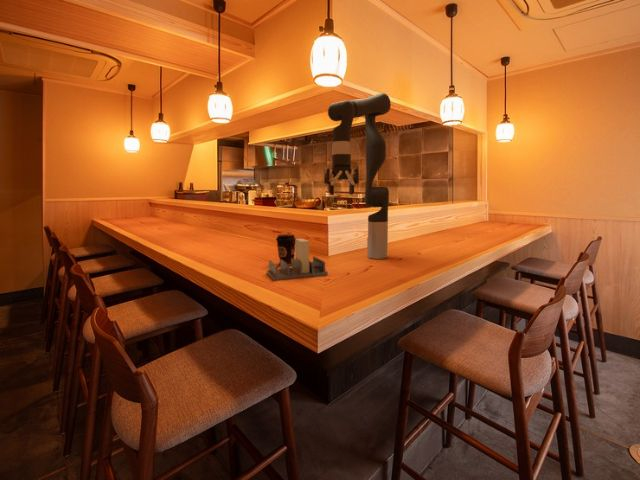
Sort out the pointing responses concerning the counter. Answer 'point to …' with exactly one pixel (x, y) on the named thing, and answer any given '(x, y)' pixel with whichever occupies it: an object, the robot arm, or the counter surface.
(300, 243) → the tall cream pillar
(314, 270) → the dish rack
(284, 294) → the counter surface
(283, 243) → the coffee cup
